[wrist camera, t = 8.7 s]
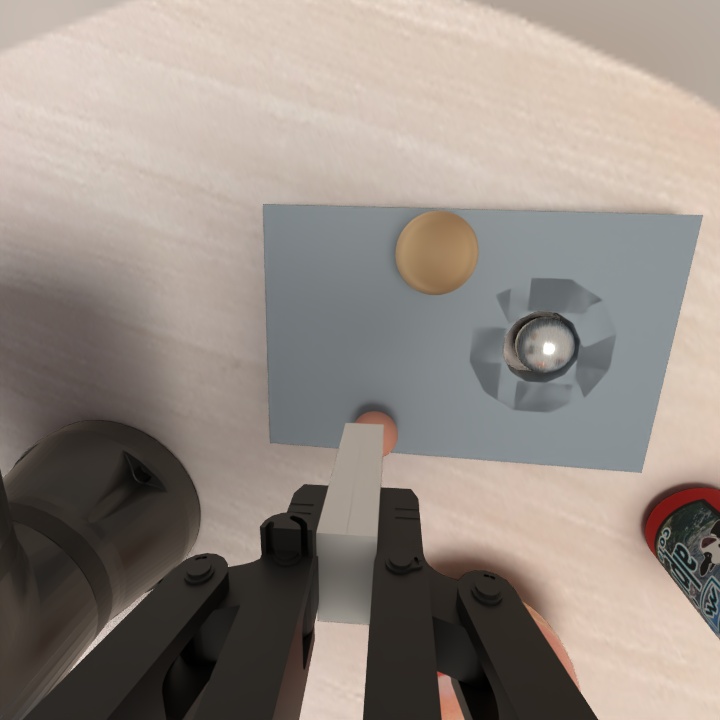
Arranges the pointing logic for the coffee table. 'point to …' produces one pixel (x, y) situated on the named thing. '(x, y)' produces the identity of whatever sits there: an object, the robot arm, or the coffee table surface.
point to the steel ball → (545, 344)
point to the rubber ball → (389, 428)
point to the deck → (474, 332)
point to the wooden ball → (437, 252)
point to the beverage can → (690, 547)
